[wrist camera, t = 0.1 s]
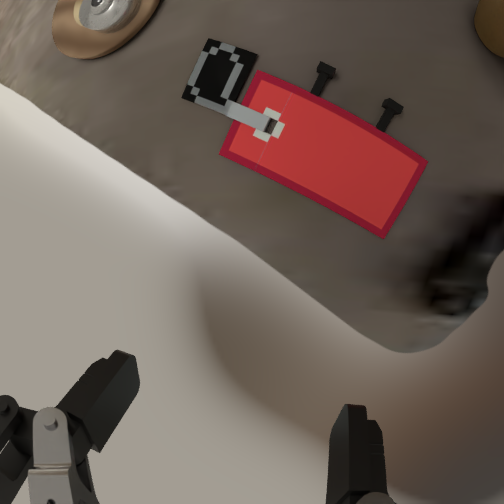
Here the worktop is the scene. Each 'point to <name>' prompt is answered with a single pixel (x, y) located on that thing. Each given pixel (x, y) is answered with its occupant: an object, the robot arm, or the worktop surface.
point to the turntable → (92, 31)
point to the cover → (108, 14)
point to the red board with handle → (308, 139)
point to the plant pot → (491, 25)
